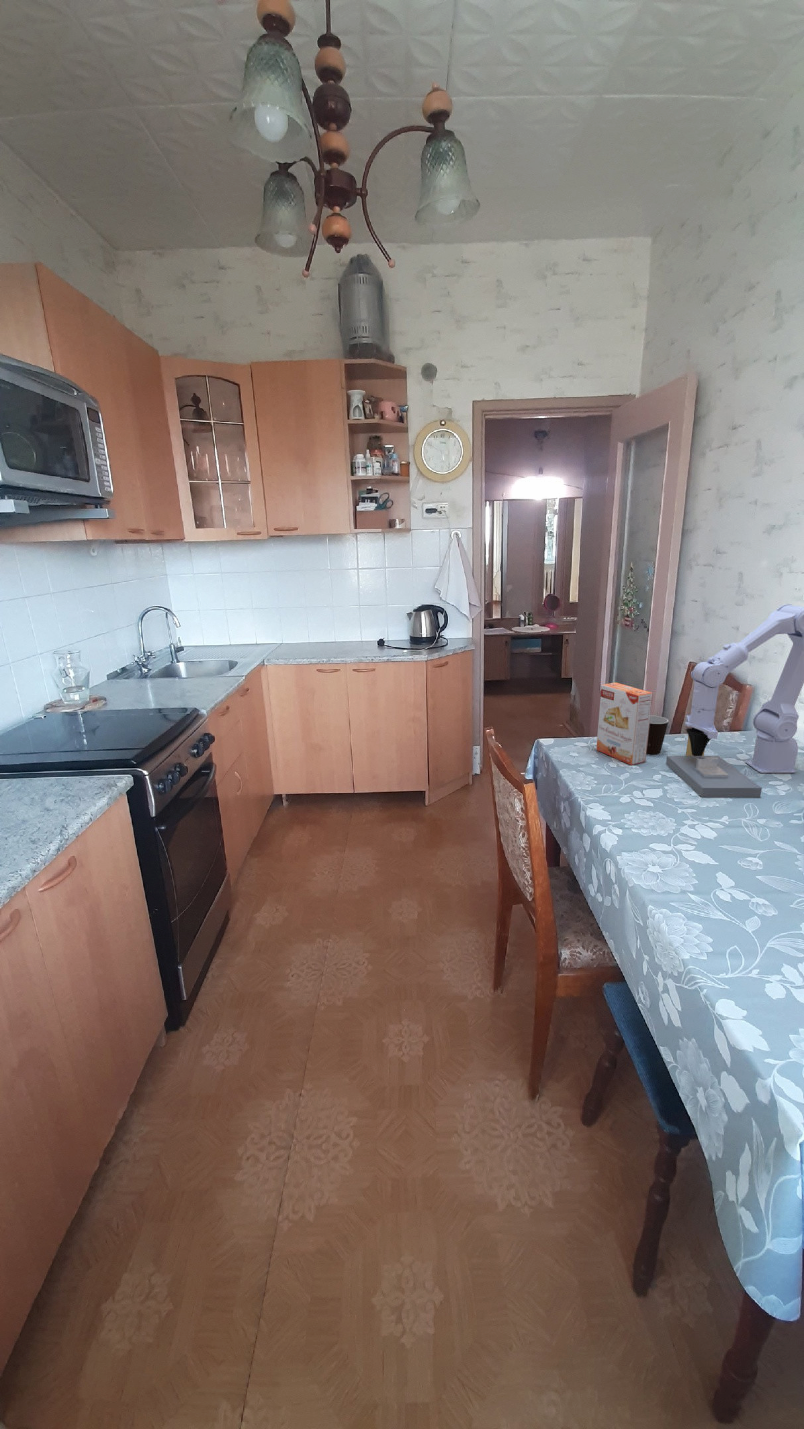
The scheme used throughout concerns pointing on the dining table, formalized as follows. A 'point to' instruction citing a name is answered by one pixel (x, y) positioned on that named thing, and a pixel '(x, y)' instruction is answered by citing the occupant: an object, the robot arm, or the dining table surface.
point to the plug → (688, 750)
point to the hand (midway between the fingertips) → (696, 755)
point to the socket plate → (713, 787)
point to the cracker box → (624, 722)
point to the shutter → (709, 768)
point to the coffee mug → (656, 734)
